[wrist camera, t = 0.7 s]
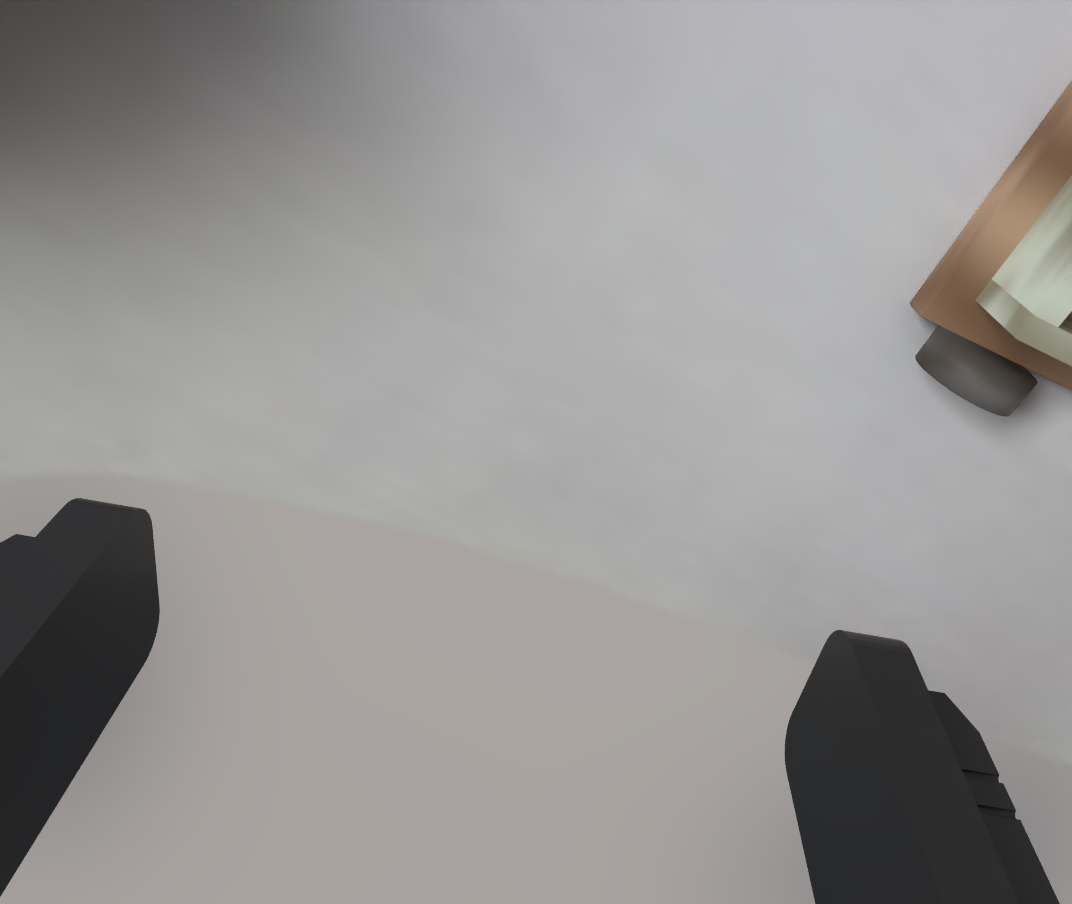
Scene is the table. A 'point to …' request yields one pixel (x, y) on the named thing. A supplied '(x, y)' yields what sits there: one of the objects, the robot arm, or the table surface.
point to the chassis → (1009, 280)
